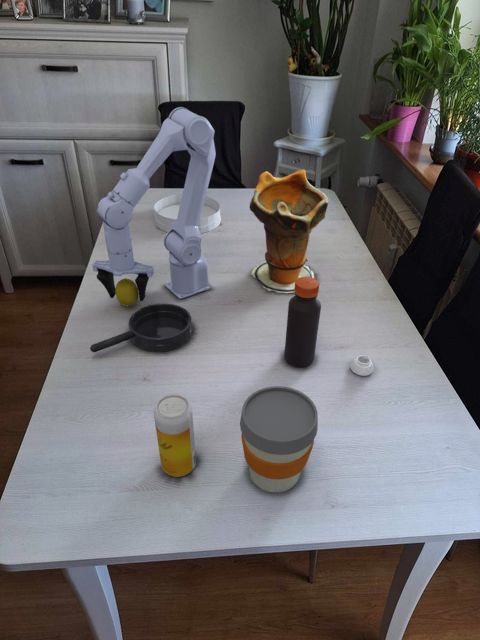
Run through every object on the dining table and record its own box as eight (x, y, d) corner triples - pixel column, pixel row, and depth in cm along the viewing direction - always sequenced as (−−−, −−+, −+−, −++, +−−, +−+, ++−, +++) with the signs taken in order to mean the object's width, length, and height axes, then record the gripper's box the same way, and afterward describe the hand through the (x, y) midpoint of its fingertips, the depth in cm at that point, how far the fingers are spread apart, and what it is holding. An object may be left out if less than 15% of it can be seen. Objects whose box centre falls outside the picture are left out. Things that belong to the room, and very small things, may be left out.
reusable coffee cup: (306, 443, 91) (314, 385, 82) (313, 501, 82) (324, 443, 72) (239, 443, 91) (240, 384, 81) (239, 502, 81) (240, 443, 72)
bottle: (297, 345, 114) (305, 270, 102) (319, 359, 111) (331, 283, 98) (277, 357, 111) (283, 281, 98) (299, 372, 107) (308, 295, 94)
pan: (173, 309, 124) (172, 296, 121) (203, 337, 115) (203, 324, 113) (120, 328, 117) (118, 315, 114) (148, 360, 108) (146, 347, 106)
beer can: (162, 452, 88) (154, 393, 79) (196, 451, 89) (192, 391, 80) (160, 480, 84) (151, 420, 74) (195, 478, 84) (191, 419, 75)
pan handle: (132, 334, 112) (131, 328, 111) (135, 338, 111) (134, 332, 110) (89, 350, 107) (88, 344, 106) (92, 355, 106) (91, 348, 105)
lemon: (135, 313, 122) (130, 286, 117) (114, 310, 123) (109, 283, 117) (143, 301, 126) (139, 274, 121) (123, 298, 127) (118, 271, 122)
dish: (217, 236, 157) (217, 221, 154) (149, 233, 156) (147, 218, 153) (223, 208, 174) (222, 195, 171) (161, 206, 174) (159, 192, 170)
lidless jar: (365, 360, 111) (346, 365, 109) (367, 350, 109) (348, 355, 108) (377, 373, 108) (357, 379, 106) (379, 363, 106) (360, 369, 104)
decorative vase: (268, 307, 126) (274, 203, 109) (235, 265, 142) (236, 169, 125) (337, 292, 133) (353, 192, 116) (298, 254, 149) (307, 161, 132)
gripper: (83, 253, 112) (93, 303, 120) (144, 259, 111) (150, 309, 119) (95, 240, 117) (104, 288, 126) (153, 245, 116) (159, 293, 125)
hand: (127, 297), depth 123 cm, fingers open, 7 cm apart
